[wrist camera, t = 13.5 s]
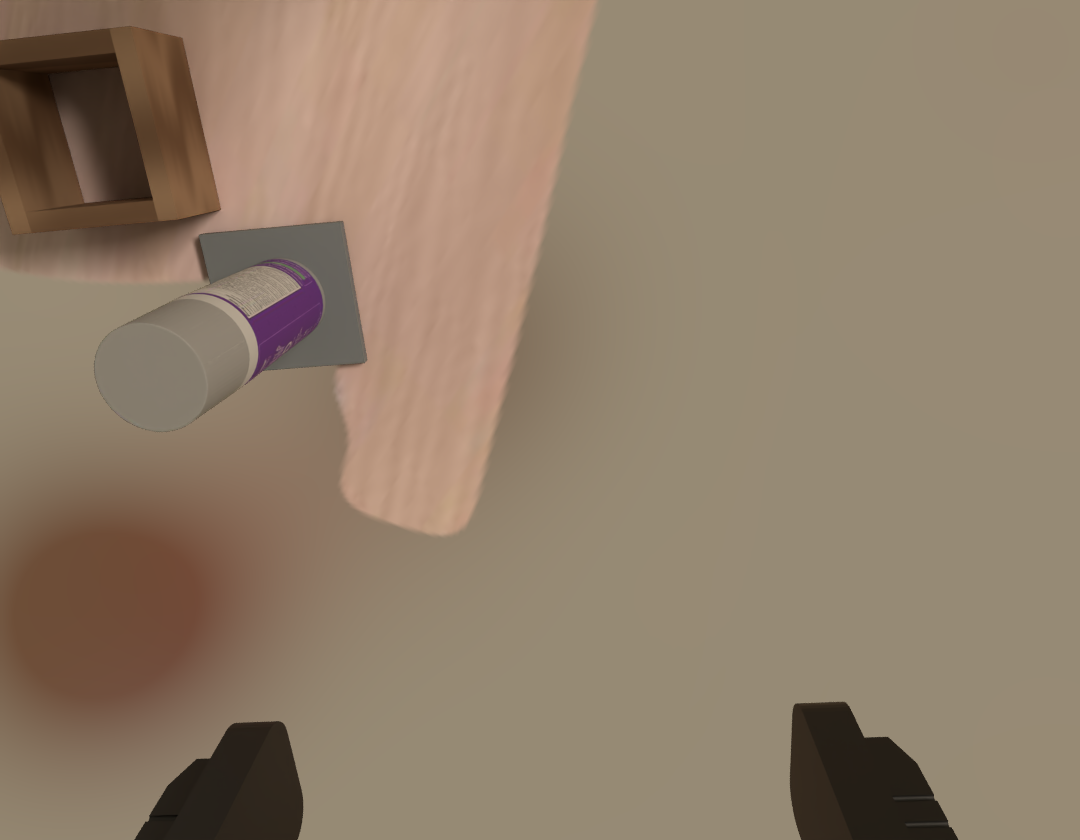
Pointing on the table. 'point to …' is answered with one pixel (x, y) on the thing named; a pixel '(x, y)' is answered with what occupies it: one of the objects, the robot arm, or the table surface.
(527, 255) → the table surface
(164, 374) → the container
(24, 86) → the holder
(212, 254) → the mat
